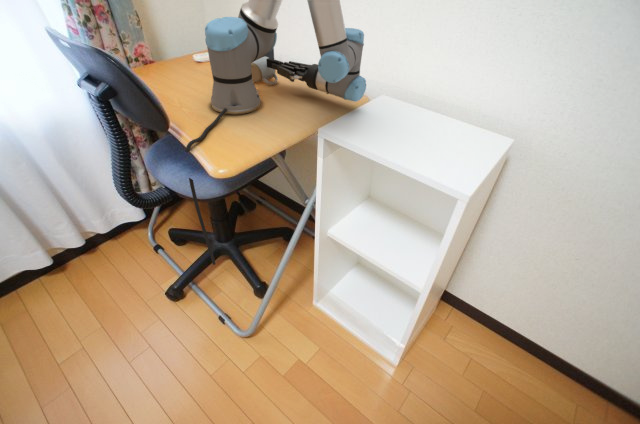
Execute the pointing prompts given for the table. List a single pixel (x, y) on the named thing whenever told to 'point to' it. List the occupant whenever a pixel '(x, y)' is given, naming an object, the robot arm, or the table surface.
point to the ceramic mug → (262, 72)
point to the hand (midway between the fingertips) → (268, 62)
